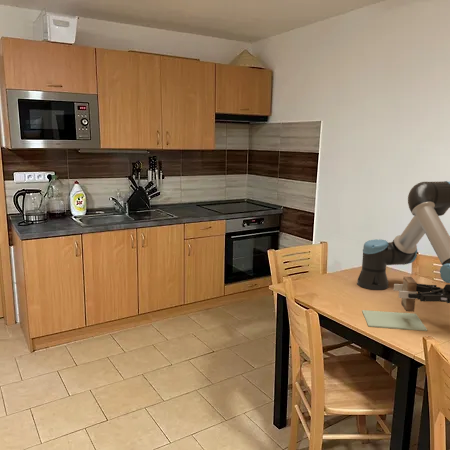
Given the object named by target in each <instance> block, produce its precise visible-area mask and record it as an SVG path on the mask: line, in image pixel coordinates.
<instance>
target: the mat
mask: <svg viewBox="0 0 450 450" xmlns="http://www.w3.org/2000/svg"><path fill="white" fill-rule="evenodd" d="M361 312H362V314H363V317H364V320H365V321H366V324H367V327H369V328H380V329H381V328H382V329H395V330H406V331H407V330H408V331H409V330H410V331H422V332H427V331H428V328H427V327H426V325H425V324H424V323H423V322H422V320H421V319H420V316H418V315H417V313H414V312H411V313H410V312H398V311H397V312H395V311H394V312H393V311H381V310H380V311H379V310H366V309H362V310H361Z"/></svg>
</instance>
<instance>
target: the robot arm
mask: <svg viewBox="0 0 450 450" xmlns="http://www.w3.org/2000/svg"><path fill="white" fill-rule="evenodd" d="M407 205H408V208H409V210H410V213H411V215H412V216H413V217H412V218H411V220H410V221H409V223H408V224H407V226H406V227H405V228H404V230H403V231H402V233H401V234H400V235H397V236H395V237H394V238H393V240H392V241H391V242H388V240H386V239H385V240H384V239H381V238H379V239H370V240H367V241H365V242H364V244H363V249H362V260H361V271H360V273H359V276H358V277H357V282H356V283H357V285H358V286H359V287H361V288H364V289H367V290H373V291H375V290H376V291H382V290H386V289H388V288H389V279H388V276H387V272H386V271H387V266H394V265H395V266H398V265H400V266H401V265H403V266H404V265H410V264H412V263H414V261H415V260H416V259H417V256H418V255H417V254H418V243H419V242H420V241H421V240H422V239H423V237H424V236H425V235H426V237H427V239H428V241H429V242H430V245H431V247H432V248H433V251H434V252H435V254H436V256H437V259H438V260H439V261H440V264H441V266H440V269H439V273H440V278H441V280H442V281H443V282H444V283H446V284H445V285H444V287H443V288H442V287H440V286H437V284H424V283H417V286H416V292H412V291H402V289H403V283H401V284H399V283H394V284H393V291H396V292H398V299H402V298H409V299H415V300H419V301H420V302H423V303H425V302H427V303H429V302H430V303H431V302H435V303H436V302H437V303H439V302H440V303H441V302H442V303H447V304H450V235H449V233H448V231H447V229H446V227H445V226H444V224H443V222H442V220H441V218H440V217H442V216H444V215H445V214H446V213H447V211H448V210H449V209H450V181H448V180H444V181H421V182H420V181H419V183H416V184H415V185H414V186H413V187H411V189H410V191H409V192H408V196H407Z"/></svg>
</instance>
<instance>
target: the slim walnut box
mask: <svg viewBox="0 0 450 450" xmlns="http://www.w3.org/2000/svg"><path fill="white" fill-rule="evenodd" d="M402 280H403V281H402V284H403V289H402V291H412V292H416V286H417V284H418V283H417V281H416V280H415V279H414V278H413V277H412V276H403V279H402ZM401 306H402V307H403V309H404V310H405V312H407V313H410V312H411V313H415V306H416V299H409V298H401Z"/></svg>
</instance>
